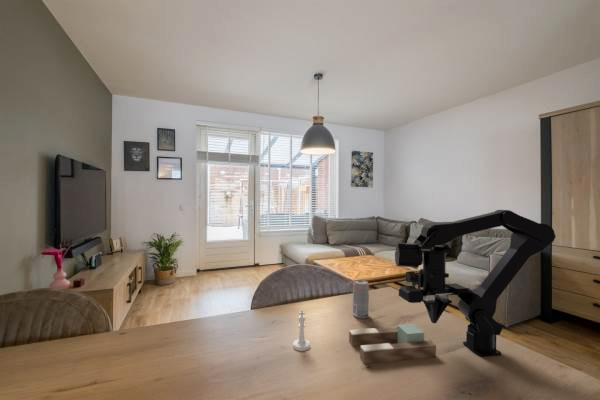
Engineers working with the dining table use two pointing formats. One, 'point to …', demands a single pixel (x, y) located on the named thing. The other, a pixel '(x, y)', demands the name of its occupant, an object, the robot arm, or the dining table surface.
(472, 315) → the robot arm
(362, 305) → the energy drink
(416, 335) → the block
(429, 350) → the chute
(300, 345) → the chess piece
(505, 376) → the dining table surface
